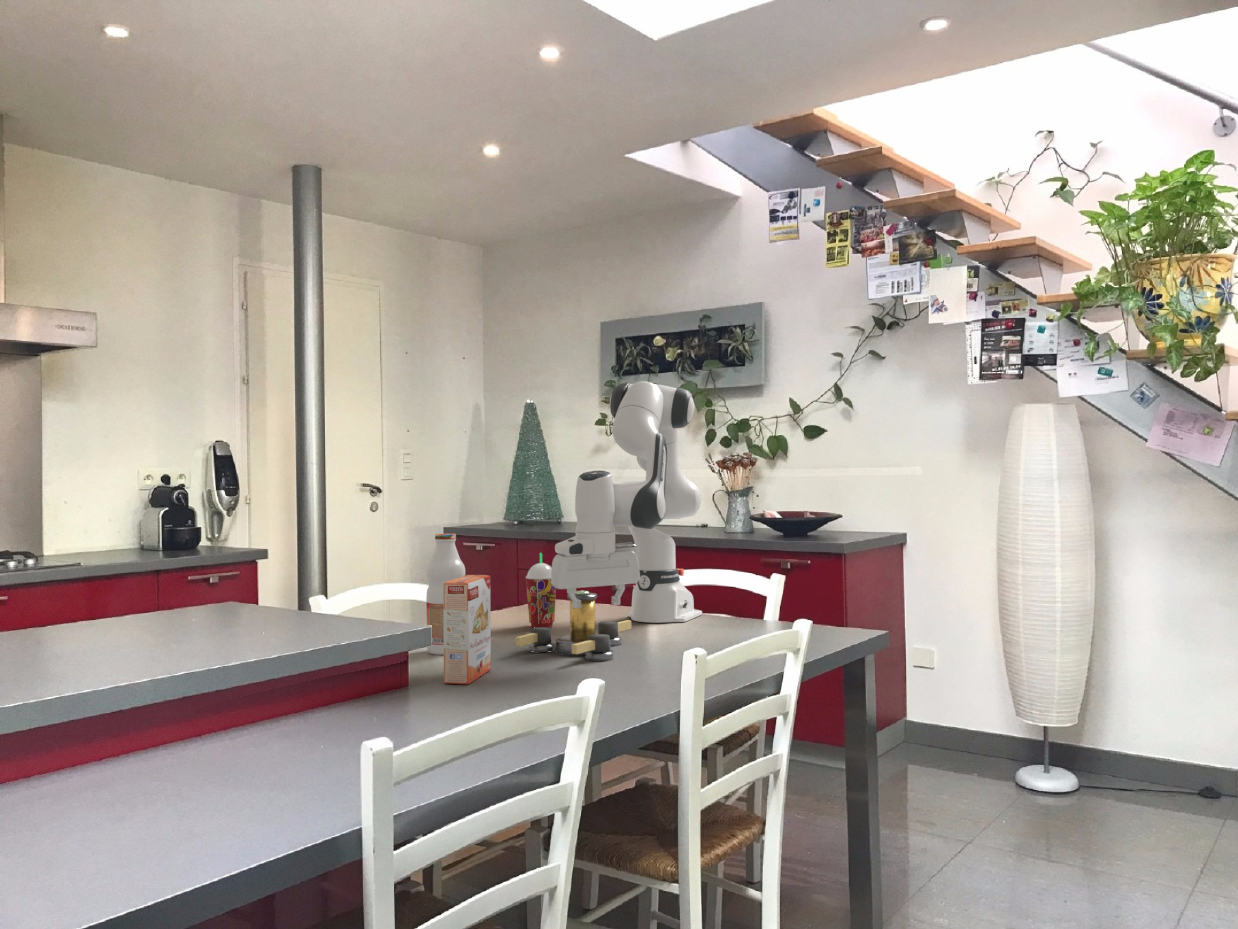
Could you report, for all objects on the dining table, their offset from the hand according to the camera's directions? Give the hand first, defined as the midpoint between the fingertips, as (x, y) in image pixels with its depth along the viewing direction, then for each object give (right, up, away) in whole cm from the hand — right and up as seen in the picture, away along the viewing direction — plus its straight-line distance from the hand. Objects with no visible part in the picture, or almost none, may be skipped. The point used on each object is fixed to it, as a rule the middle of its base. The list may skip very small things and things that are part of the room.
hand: (596, 606), depth 219 cm
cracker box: (-27, -13, -12) cm, 32 cm away
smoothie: (-16, -13, +48) cm, 52 cm away
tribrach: (-2, -13, +16) cm, 21 cm away
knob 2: (-1, -11, +3) cm, 11 cm away
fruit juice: (-36, -13, +16) cm, 41 cm away
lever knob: (+4, -10, +25) cm, 27 cm away
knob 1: (-15, -11, +13) cm, 23 cm away
